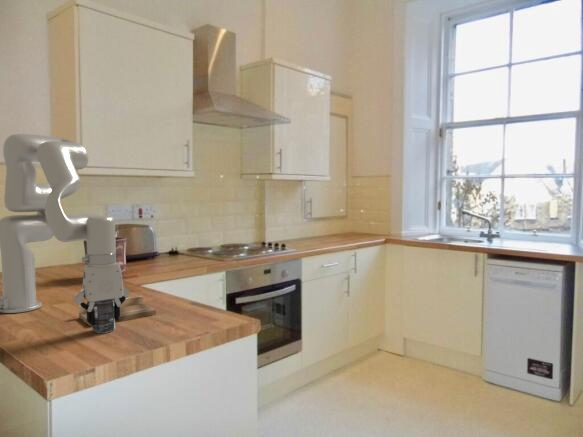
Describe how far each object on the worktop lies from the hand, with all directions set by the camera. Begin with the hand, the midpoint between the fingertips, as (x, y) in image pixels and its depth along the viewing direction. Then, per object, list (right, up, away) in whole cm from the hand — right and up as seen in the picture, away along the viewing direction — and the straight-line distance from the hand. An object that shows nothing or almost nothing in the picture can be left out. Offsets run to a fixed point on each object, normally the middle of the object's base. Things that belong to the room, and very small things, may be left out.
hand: (103, 321), depth 128 cm
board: (-2, -2, +14) cm, 15 cm away
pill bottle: (0, -3, 0) cm, 3 cm away
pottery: (-30, +2, +74) cm, 80 cm away
